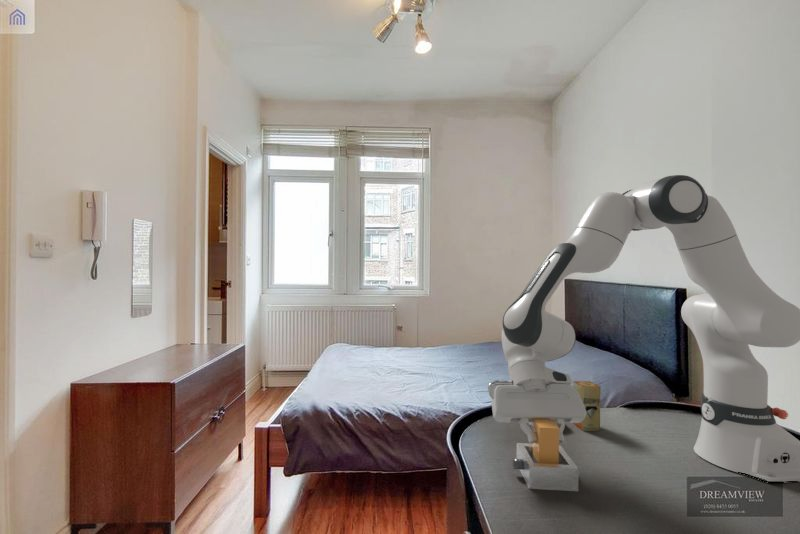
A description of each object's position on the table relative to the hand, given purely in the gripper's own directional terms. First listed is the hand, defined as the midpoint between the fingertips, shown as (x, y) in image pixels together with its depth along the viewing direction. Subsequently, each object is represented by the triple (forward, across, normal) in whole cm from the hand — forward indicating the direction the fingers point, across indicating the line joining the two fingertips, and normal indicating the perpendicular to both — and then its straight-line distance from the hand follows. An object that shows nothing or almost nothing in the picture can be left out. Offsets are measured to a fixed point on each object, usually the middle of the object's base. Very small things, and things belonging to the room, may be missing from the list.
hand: (547, 442), depth 76 cm
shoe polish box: (-12, +22, +23) cm, 34 cm away
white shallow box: (+5, 0, +6) cm, 8 cm away
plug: (+3, 0, +4) cm, 5 cm away
